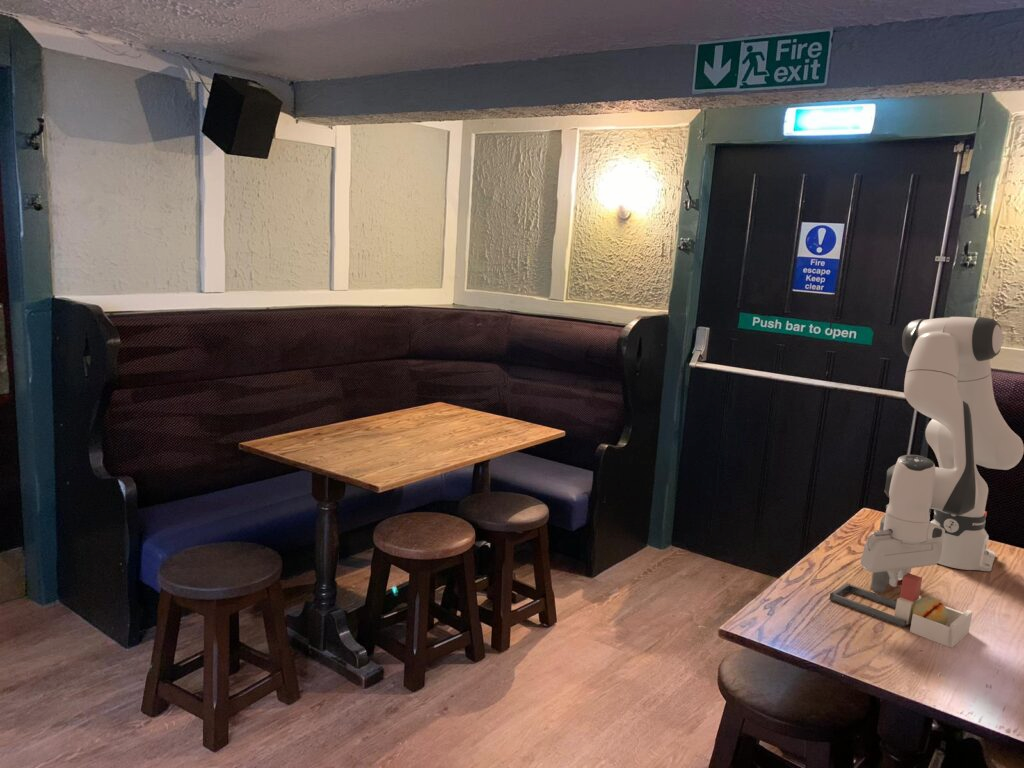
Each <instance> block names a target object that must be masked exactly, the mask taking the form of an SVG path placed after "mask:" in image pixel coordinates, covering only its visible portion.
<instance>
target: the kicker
mask: <svg viewBox="0 0 1024 768" xmlns="http://www.w3.org/2000/svg"><path fill="white" fill-rule="evenodd" d="M922 580H923V577H922V576H918V575H917V574H916V575H915V574H913V573H911V572H910V573H907V574H906V575H904V576H903V580H902V586H900V587H901V588H900V594H899V597H898V598H896V601H897V603H896V608H894V610H895V611H894V615H893V616H895V617H898V618H901V619H903V620H906V625H910V624H911V621H912V608H913V606H914V604H915V603H916V602H917V601H918V600H920V599H922V596H921V595H920V593H921V588H922Z"/></svg>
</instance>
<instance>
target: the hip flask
mask: <svg viewBox="0 0 1024 768" xmlns="http://www.w3.org/2000/svg"><path fill="white" fill-rule="evenodd" d="M888 505H889V503H888V504H886V505H885V509H887V507H888ZM885 515H886V513H885V514H884V515H883V516H882V517H881V520H880V524H879V530H878V531H882V530H883V528H884V521H885ZM899 571H900V570H899ZM897 575H898V573H897ZM889 579H890V577H889V575H888V572H887V571H884V572H876V573H872V576H871V582H870V588H869V589H870V590H871V591H872V590H873V591H872V592H874V591H875V592H874V593H878V592H880V593H879V594H881V593H883V594H884V593H885V591H886V589H887V587H888V586H889V585H890V584H889Z"/></svg>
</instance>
